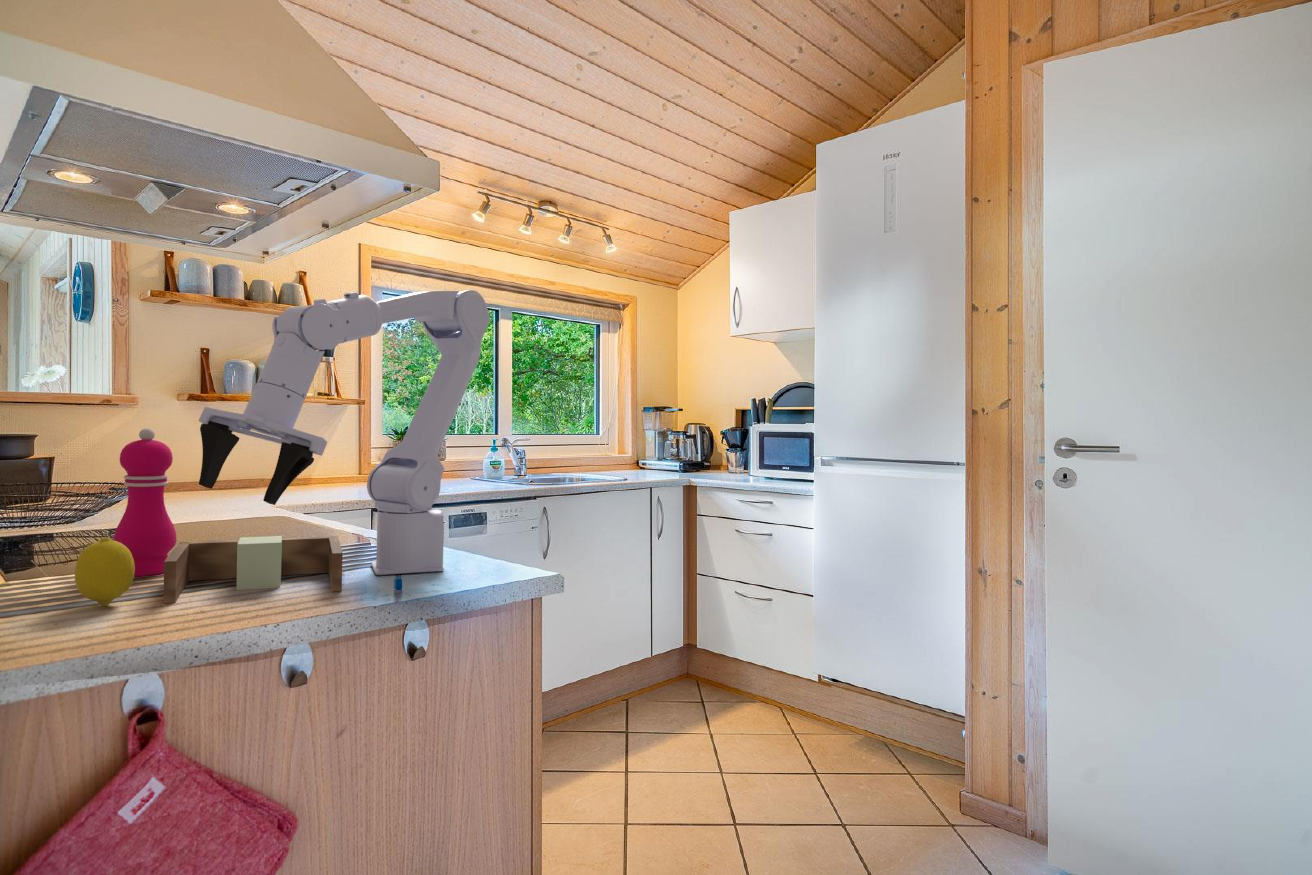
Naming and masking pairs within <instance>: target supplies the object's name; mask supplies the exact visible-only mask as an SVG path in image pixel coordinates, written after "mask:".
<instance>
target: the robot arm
mask: <svg viewBox="0 0 1312 875" xmlns="http://www.w3.org/2000/svg"><path fill="white" fill-rule="evenodd" d="M343 297H344V298H339V299H334V300H333V299H332V300H327V301H326V299H325V298H319V299H314V300H313V304H312V305H311V304H310V305H298V306H297V305H296V306H289V307H287V308H285V309H284V310H283V312H280V314H279V315H278V316H274V317H273V320H272V332H273V336H274V337H273V338H274V341H273V344H272V345H271V349H270V352H269V354H268V357H267V358H266V360H265V363H264V365H263V368H262V370H261V373H260V375H259V377H258V379H257V382H256V384H255V386H254V389H253V390H252V393H251V395H250V398H249V399H248V401H247V404H246V407H245V409H244V411H243V413H238V412H233V411H228V410H222V409H217V408H212V407H209V406H204V407H203V409H202V411H201V414H200V416H199V419H198V422H199V423H201V424H200V427H199V431H200V436H201V445H202V459H201V461H202V462H201V468H200V469H201V470H200V476H199V481H198V485H199V486H202V487H204V488H206V489H211V490H212V489H213V487H214V486H215V484H216V483H217V480H218V478H219V476H220V473H221V471H222V468H223V466H224V463H225V462H226V460H227V458H228V457H229V455H230V454H231V453H232V450H233V449H234V448H235V446H236V445H237V444H238V442H239V441H240V439H241V438H240V437H239V436H237V435H236V434H234V433H233V432H235V433H238V434H242V435H245V436H249V437H253V438H256V439H261V440H264V441H269V442H272V443H276V444H279V445H280V449H279V454H278V457H277V458H278V459H277V461H276V466H275V469H274V472H273V475H272V477H271V479H270V481H269V484H268V486H267V488H266V491H265V492H264V496H263V502H265V503H267V504H269V505H273V506H275V505H276V504H277V502H278V501H279V499H280V497H281V496H282V495H283V494H284V492H285V491H286V490H287V488H288V487H289V486H290V485H291V484H292V482H293V481H294V480H296V479H297V477H298V476H299V475H300V474H302V473H303V472H304V471H305V470H306V469H307V468H309V466H312V464H313V462H314V460H315V458H314V455H316V456H317V455H318V456H323V454H324V452H325V450H326V447H327V444H328V441H327V440H326V439H325V438H324V437H322V436H318V435H315V434H312V433H308V432H306V431H303V430H300V429H296V428H294V427H295V424H296V422H297V419H298V418H299V415H300V412H301V411H302V408H303V405H304V403H305V400H306V397H307V395H308V394H309V393H308V392H309V390H310V387H311V386H312V384H313V381H314V379H315V376H316V374H317V371H318V369H319V367H320V364H321V362H322V359H323V357H324V354H325V352H326V351H325V350H331V351H332V350H333V349H335V348H337V347H338V345H340V344H343V343H347V342H348V343H349V342H352V341H355V340H360V339H365V338H369V337H372V336H375V335H376V336H377V334H378V333H379V332H380V330H381V329H382V325H383V324H388V323H393V322H398V321H403V320H409V319H414V321H415V322H420V323H421V325H422V326H423V328H424V330H425V332H426V333H427V335H428V336H429V338H430V340H431V342H432V343H433V345H434V346H435V348H436V350H438V351H439V353H440V355H441V357H440V359H439V362H438V364H437V366H436V368H435V371H434V372H433V374H432V377H431V379H430V381H429V383H428V385H427V387H426V390H425V392H424V394H423V396H422V398H421V399H420V402H419V404H418V406H417V408H416V411H415V413H414V414H413V417H412V419H411V421H410V424H409V426H408V428H407V431H406V432H405V434H404V436H403V439H402V441H401V442H399V443H398V444H397V445H396V446H394V447H392V448H390V449H389V450H388V451H386V452H385V453H384V455H383V458H382V459H381V461H380V462H379V463H378V464H377V465H376V466H375V467H373V469H372V470H371V471H370V472H369V475H368V476H367V482H366V489H367V495H368V496H369V498H370V499H371V500H372V501H373V502H374V508H375V509H377V511H376V512H377V514H376V515H377V516H376V550H375V551H376V556H375V557H376V558H375V560H372V561H370V565H371V568H372V570H373V572H374V574H375V575H376V576H382V575H385V576H386V575H395V574H396V575H398V574H399V575H401V574H413V573H414V574H415V573H417V574H418V573H428V572H431V573H432V572H443V571H444V570H445V569H444V539H445V538H444V537H445V536H444V534H445V524H444V520H445V519H444V515H443V512H442V510H441V509H439V508H438V509H432V508H433V505H434V504H435V503H436V501H437V500H438V499H439V495H440V492H441V482H442V481H441V480H442V476H443V474H444V472H445V467H444V465H443V463H442V462H441V460H440V458H439V457H438V454H439V452H440V449H441V447H442V445H443V443H444V440H445V437H446V435H447V433H448V431H449V429H450V427H451V424H452V422H453V420H454V418H455V415H456V413H457V410H458V408H459V406H460V404H461V401H462V399H463V397H464V395H465V393H466V392H467V388H468V386H469V384H470V381H471V379H472V377H473V375H474V373H475V369H476V368H477V366H478V363H479V361H480V356H481V349H482V341H483V340H482V339H483V337H484V335H485V333H486V331H487V328H488V326H489V324H490V322H491V317H490V314H489V310H488V307H487V303H486V300H485V299H484V297H483V296H482V294H481V293H480V292H478V291H477V290H474V289H467V290H466V289H465V290H463V291H460V290H428V291H427V290H425V291H416V292H415V291H414V292H411V293H410V292H409V293H407V294H402V295H399V296H398V295H397V296H394V297H390V298H386V299H382V300H378V301H376V300H374V299H373V298H371V297H370V296H369V295H365V294H360V295H359V292H358V291H353V292H345V293H344V294H343Z"/></svg>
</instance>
